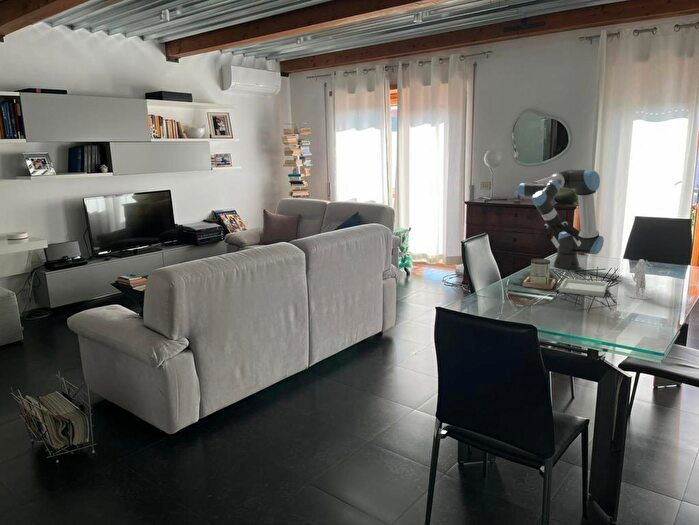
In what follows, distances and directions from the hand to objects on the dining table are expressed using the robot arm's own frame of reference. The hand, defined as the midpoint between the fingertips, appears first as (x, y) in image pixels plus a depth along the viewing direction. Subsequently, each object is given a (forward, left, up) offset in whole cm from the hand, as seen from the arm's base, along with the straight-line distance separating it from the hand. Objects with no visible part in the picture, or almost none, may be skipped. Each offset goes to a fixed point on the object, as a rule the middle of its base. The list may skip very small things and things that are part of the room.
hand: (568, 245), depth 292 cm
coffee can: (+5, -13, -23) cm, 27 cm away
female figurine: (+11, +36, -23) cm, 44 cm away
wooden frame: (+5, -13, -23) cm, 27 cm away
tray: (+5, +10, -23) cm, 25 cm away
